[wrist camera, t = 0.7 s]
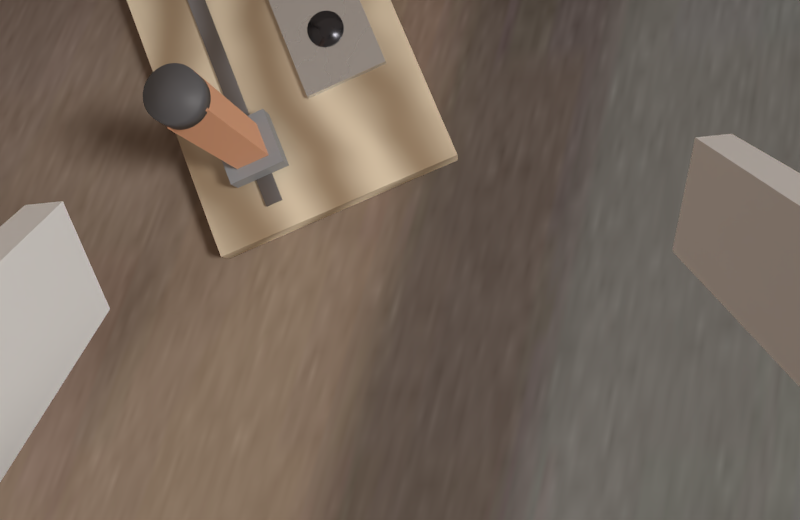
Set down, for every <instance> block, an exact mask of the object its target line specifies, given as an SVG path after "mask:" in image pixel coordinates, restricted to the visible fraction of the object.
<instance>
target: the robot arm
mask: <svg viewBox="0 0 800 520" xmlns="http://www.w3.org/2000/svg"><path fill="white" fill-rule="evenodd" d="M672 251H673V252H674V253H675V254H676V256H677V257H678V258H679V259H680V260H681V261H682V262H683V263H684V264H685V265H686V266H687V267H688V268H689V269H690V270H691V272H692V273H693V274H694V275H695V276H696V277H697V278H698V279H699V280H700V281H701V282H702V283H703V284H704V285H705V286H706V287H707V289H708V290H709V291H710V292H711V293H712V294H713V295H714V296H715V297H716V298H717V299H718V300H719V301H720V302H721V303H722V305H723V306H724V307H725V308H726V309H727V310H728V311H729V312H730V313H731V314H732V315H733V316H734V317H735V318H736V319H737V320H738V322H739V323H740V324H741V325H742V326H743V327H744V328H745V329H746V330H747V331H748V332H749V333H750V334H751V335H752V336H753V338H754V339H755V340H756V341H757V342H758V343H759V344H760V345H761V346H762V347H763V348H764V349H765V350H766V351H767V352H768V353H769V355H770V356H771V357H772V358H773V359H774V360H775V361H776V362H777V363H778V364H779V365H780V366H781V367H782V368H783V369H784V371H785V372H786V373H787V374H788V375H789V376H790V377H791V378H792V379H793V380H794V381H795V382H796V383H797V384H798V385H799V387H800V173H798V172H797V171H795V170H793V169H791V168H790V167H788V166H786V165H785V164H783V163H781V162H779V161H778V160H776V159H774V158H772V157H771V156H769V155H767V154H766V153H764V152H762V151H760V150H759V149H757V148H755V147H754V146H752V145H750V144H748V143H747V142H745V141H743V140H742V139H740V138H738V137H736V136H735V135H733V134H725V135H715V136H705V137H695V142H694V147H693V152H692V156H691V161H690V166H689V171H688V176H687V181H686V186H685V191H684V196H683V201H682V206H681V211H680V216H679V221H678V226H677V231H676V236H675V241H674V246H673V250H672ZM109 310H110V308H109V306H108V303H107V301H106V299H105V297H104V294H103V292H102V290H101V287H100V285H99V283H98V281H97V278H96V276H95V274H94V271H93V269H92V267H91V265H90V262H89V260H88V258H87V256H86V253H85V251H84V249H83V246H82V244H81V242H80V240H79V237H78V235H77V233H76V230H75V228H74V226H73V224H72V221H71V219H70V217H69V214H68V212H67V210H66V208H65V205H64V203H63V201H60V202H50V203H40V204H31V205H25V206H24V207H22V208H21V209H20V210H19V211H18V212H17V213H15V214H14V215H13V216H12V217H11V218H10V219H9V220H7V221H6V222H5V223H4V224H3V225H2V226H0V482H1V480H2V479H3V477H4V475H5V474H6V472H7V471H8V469H9V468H10V466H11V464H12V463H13V461H14V460H15V458H16V456H17V455H18V453H19V452H20V450H21V449H22V447H23V445H24V444H25V442H26V441H27V439H28V438H29V436H30V434H31V433H32V431H33V430H34V428H35V426H36V425H37V423H38V422H39V420H40V419H41V417H42V415H43V414H44V412H45V411H46V409H47V408H48V406H49V404H50V403H51V401H52V400H53V398H54V397H55V395H56V393H57V392H58V390H59V389H60V387H61V385H62V384H63V382H64V381H65V379H66V378H67V376H68V374H69V373H70V371H71V370H72V368H73V367H74V365H75V363H76V362H77V360H78V359H79V357H80V356H81V354H82V352H83V351H84V349H85V348H86V346H87V344H88V343H89V341H90V340H91V338H92V337H93V335H94V333H95V332H96V330H97V329H98V327H99V326H100V324H101V322H102V321H103V319H104V318H105V316H106V315H107V313H108V311H109Z"/></svg>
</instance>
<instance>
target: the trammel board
mask: <svg viewBox="0 0 800 520" xmlns="http://www.w3.org/2000/svg"><path fill="white" fill-rule="evenodd" d="M360 2H361V4H362V7H363V9H364V11H365V14H366V16H367V18H368V21H369V23H370V26H371V28H372V30H373V33H374V35H375V37H376V40H377V42H378V44H379V47H380V49H381V51H382V54H383V56H384V59H385V61H386V64H384V65H382V66H380V67H378V68H376V69H373V70H371V71H369V72H367V73H365V74H362V75H360V76H358V77H356V78H353V79H351V80H349V81H347V82H345V83H342V84H340V85H338V86H336V87H334V88H331V89H329V90H327V91H325V92H322V93H320V94H318V95H316V96H314V97H311V98H308V97H307V95H306V92H305V90H304V87H303V85H302V82H301V80H300V77H299V75H298V72H297V70H296V68H295V65H294V63H293V60H292V58H291V55H290V53H289V50H288V48H287V45H286V43H285V40H284V38H283V35H282V33H281V30H280V28H279V25H278V23H277V20H276V18H275V15H274V13H273V10H272V8H271V5H270V3H269V0H127V3H128V5H129V8H130V11H131V13H132V16H133V19H134V22H135V24H136V27H137V30H138V33H139V35H140V38H141V41H142V43H143V46H144V49H145V52H146V54H147V57H148V60H149V62H150V65H151V68H152V71H153V72H154V71H155V70H156V69H158V68H159V67H161V66H163V65H165V64H169V63H180V64H184V65H186V66H188V67H190V68H191V69H192V70H194V71H195V72H196V73H198V74H199V75H200V76H201V77H202V78H203V79H205V80H206V81H207V82H208V83H209V84H210V85H212V86H213V87H214V88H215V89H216V90H218V91H219V92H220V93H221V94H222V95H223V96H225V97H226V98H227V99H228V100H229V101H230V102H232V103H233V104H234V105H235V106H236V107H238V108H239V109H240V110H241V111H242V112H243V113H245V114H246V115H247V116H248V115H250V114H252V113H255V112H257V111H259V110H261V109H264V110H265V111H266V112H267V113H268V114H269V115H270V118H271V120H272V123H273V125H274V128H275V131H276V133H277V136H278V138H279V141H280V143H281V146H282V148H283V151H284V154H285V156H286V159H287V161H288V164H289V166H286V167H284V168H282V169H280V170H277V171H275V172H273V173H271V174H268V175H266V176H264V177H262V178H259V179H257V180H255V181H253V182H250V183H248V184H246V185H244V186H241V187H239V188H237V187H235V186H233V185H231V184H230V181H229V178H228V176H227V173H226V170H225V168H224V165H223V162H222V160H221V159H219V158H217V157H215V156H214V155H212V154H210V153H209V152H207V151H205V150H203V149H202V148H200V147H198V146H197V145H195V144H193V143H191V142H190V141H188V140H186V139H185V138H183V137H181V136H179V135H178V134H176V136H177V139H178V141H179V144H180V147H181V150H182V152H183V155H184V158H185V161H186V163H187V166H188V169H189V171H190V174H191V177H192V180H193V182H194V185H195V188H196V190H197V193H198V196H199V199H200V201H201V204H202V207H203V210H204V212H205V215H206V218H207V220H208V223H209V226H210V229H211V231H212V234H213V237H214V239H215V242H216V245H217V248H218V250H219V253H220V256H221V257H224V258H229V259H230V258H232V257H235V256H237V255H239V254H242V253H244V252H246V251H249V250H251V249H253V248H256V247H258V246H260V245H263V244H265V243H267V242H269V241H272V240H274V239H276V238H279V237H281V236H283V235H286V234H288V233H290V232H293V231H295V230H297V229H300V228H302V227H304V226H307V225H309V224H311V223H314V222H316V221H318V220H320V219H323V218H325V217H327V216H330V215H332V214H334V213H337V212H339V211H341V210H344V209H346V208H348V207H351V206H353V205H355V204H358V203H360V202H362V201H364V200H367V199H369V198H371V197H374V196H376V195H378V194H381V193H383V192H385V191H388V190H390V189H392V188H395V187H397V186H399V185H402V184H404V183H406V182H409V181H411V180H413V179H415V178H418V177H420V176H422V175H425V174H427V173H429V172H432V171H434V170H436V169H439V168H441V167H443V166H446V165H448V164H450V163H453V162H455V161H457V160H458V158H457V153H456V151H455V148H454V146H453V144H452V141H451V139H450V137H449V134H448V132H447V130H446V128H445V125H444V123H443V121H442V118H441V116H440V114H439V111H438V109H437V107H436V104H435V102H434V100H433V97H432V95H431V93H430V90H429V88H428V86H427V84H426V81H425V79H424V77H423V74H422V72H421V70H420V67H419V65H418V63H417V60H416V58H415V56H414V53H413V51H412V49H411V46H410V44H409V42H408V39H407V37H406V35H405V33H404V30H403V28H402V26H401V23H400V21H399V19H398V16H397V14H396V12H395V9H394V7H393V5H392V2H391V0H360Z"/></svg>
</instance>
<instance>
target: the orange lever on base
mask: <svg viewBox="0 0 800 520" xmlns="http://www.w3.org/2000/svg"><path fill="white" fill-rule="evenodd" d="M143 102H144V106H145V108H146V110H147V112H148V113H149V114H150V116H152V117H153V118H154V119H155V120H157V121H159V122H160V123H162V124H164V125H165V126H167V129H169V130H171V131H173V132H174V133H176V134H178V135H179V136H181V137H183V138H185V139H186V140H188V141H190V142H191V143H193V144H195V145H197V146H198V147H200V148H202V149H203V150H205V151H207V152H209V153H210V154H212V155H214V156H215V157H217V158H219V159H221V160H222V162H223V165H224V168H225V170H226V173H227V176H228V178H229V181H230V184H231V185H233V186H235V187H237V188H239V187H241V186H244V185H246V184H248V183H250V182H253V181H255V180H257V179H259V178H262V177H264V176H266V175H268V174H271V173H273V172H275V171H277V170H280V169H282V168H284V167H286V166H289V164H288V161H287V159H286V156H285V154H284V151H283V148H282V146H281V143H280V141H279V138H278V136H277V133H276V131H275V128H274V125H273V123H272V120H271V118H270V115H269V114H268V113H267V112H266V111H265V110H264V109H261V110H259V111H257V112H255V113H252V114H250V115H248V116H247V115H246V114H245V113H243V112H242V111H241V110H240V109H239V108H238V107H236V106H235V105H234V104H233V103H232V102H230V101H229V100H228V99H227V98H226V97H225V96H223V95H222V94H221V93H220V92H219V91H218V90H216V89H215V88H214V87H213V86H212V85H210V84H209V83H208V82H207V81H206V80H205V79H203V78H202V77H201V76H200V75H199V74H198V73H196V72H195V71H194V70H192V69H191V68H190V67H188V66H186V65H184V64H180V63H169V64H165V65H163V66H161V67H159V68H158V69H156V70H155V71H154V72H153V73H152V74H151V75H150V76H149V78H148V79H147V81H146V83H145V86H144V90H143Z"/></svg>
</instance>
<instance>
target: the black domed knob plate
mask: <svg viewBox="0 0 800 520" xmlns="http://www.w3.org/2000/svg"><path fill="white" fill-rule="evenodd" d="M269 3H270V5H271V8H272V10H273V13H274V15H275V18H276V20H277V23H278V25H279V28H280V30H281V33H282V35H283V38H284V40H285V43H286V45H287V48H288V50H289V53H290V55H291V58H292V60H293V63H294V65H295V68H296V70H297V72H298V75H299V77H300V80H301V82H302V85H303V87H304V90H305V92H306V95H307V97H308V98H311V97H314V96H316V95H318V94H320V93H322V92H325V91H327V90H329V89H331V88H334V87H336V86H338V85H340V84H342V83H345V82H347V81H349V80H351V79H353V78H356V77H358V76H360V75H362V74H365V73H367V72H369V71H371V70H373V69H376V68H378V67H380V66H382V65H384V64H386V61H385V59H384V56H383V54H382V51H381V49H380V47H379V44H378V42H377V40H376V37H375V35H374V33H373V30H372V28H371V26H370V23H369V21H368V18H367V16H366V14H365V11H364V9H363V7H362V4H361V2H360V0H269Z"/></svg>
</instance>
